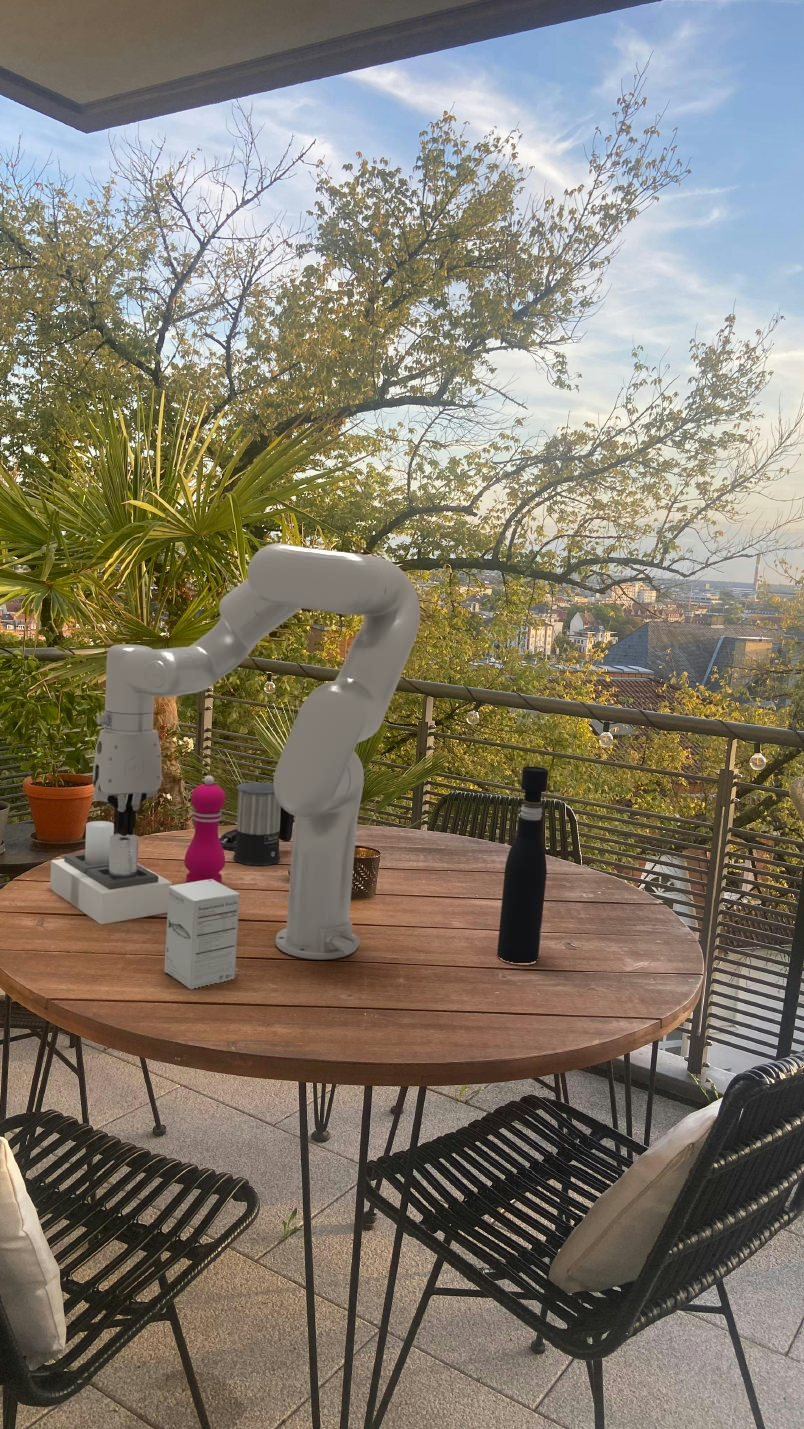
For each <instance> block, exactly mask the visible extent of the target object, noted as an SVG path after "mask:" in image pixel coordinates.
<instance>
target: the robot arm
mask: <svg viewBox="0 0 804 1429" xmlns="http://www.w3.org/2000/svg"><path fill="white" fill-rule="evenodd" d="M246 571H247V572H246V573H247V574H246V577H247V578H246V579H245V580H244V581H242V582H241V583H240V584H239V585H237V586H236V587H234V588H233V589H232V590H230V591H229V592H228V593H227V594H226V595H224V596H223V597H222V598H221V600H220V602H219V604H218V608H219V614H220V618H219V620H218V622H217V623H216V624H215V625H214V626H212V628H211V629H210V630H208V632H206V633H205V634H204V635H202V636H201V637H200V638H199V639H197V640H196V641H195V642H193V643H192V644H190V645H189V646H182V647H181V646H180V647H179V646H178V647H171V648H159V649H158V648H157V649H154V648H151V647H150V646H148V645H140V644H128V643H127V644H125V643H124V644H123V643H122V644H121V643H120V644H114V645H111V647H109V648H108V650H107V654H106V669H105V670H106V672H105V673H106V674H105V694H104V696H105V697H104V701H105V703H104V710H103V714H102V715H97V716H96V724H97V725H102V726H103V729H100V731H99V734H98V738H97V742H96V748H95V753H94V760H93V766H92V767H93V768H92V769H93V770H92V786H93V788H94V789H93V793H92V798H93V799H94V800H96V801H98V802H102V803H103V802H105V803H108V804H109V806H110V807H111V808H112V809H113V810H114V812H113V814H114V815H113V824H114V830H115V831H114V832H115V833H116V834H120V835H122V836H127V835H133V834H134V829H135V828H136V818H137V817H136V816H137V815H136V814H137V811H138V810H139V809H140V807H141V806H140V805H141V804H143V802H144V801H145V800H146V799H149V798H153V797H155V796H157V795H158V793H159V792H158V790H159V789H160V788H161V786H162V778H163V777H162V754H161V753H162V751H161V743H160V737H159V733H158V730H156V729H154V728H153V727H154V711H155V710H154V708H155V697H159V698H173V697H178V696H179V697H180V696H183V695H189V694H196V693H200V692H202V691H205V690H207V689H208V688H210V687H211V686H214V684H216V683H217V682H219V681H220V680H221V679H223V678H224V677H225V676H226V675H228V674H229V673H231V672H232V671H233V670H234V669H235V668H237V667H238V666H239V665H240V664H242V662H243V661H244V660H245V659H246V658H247V657H248V655H249V654H250V653H251V652H252V651H253V650H254V648H255V647H256V645H257V644H258V643H259V642H260V641H261V640H263V639H264V638H265V637H266V636H268V635H269V634H270V633H272V632H274V630H275V629H277V628H278V627H279V626H280V625H282V624H284V622H286V621H287V620H288V619H290V618H291V617H293V616H294V615H295V614H296V613H298V612H299V611H300V610H302V609H304V610H312V611H320V612H326V613H332V614H333V613H334V614H340V615H348V616H363V621H362V625H361V626H360V629H359V630H358V632H357V634H356V635H355V637H354V638H353V640H352V642H351V645H350V646H349V649H348V651H347V654H346V657H345V660H344V662H343V664H342V666H341V669H340V671H339V672H338V675H337V677H336V678H335V680H333V681H329V682H326V683H322V684H321V685H319V686H318V687H316V688H315V689H313V690H312V691H311V692H310V693H309V694H308V696H307V697H306V698H305V700H304V701H303V703H302V705H301V706H300V709H299V710H298V714H297V716H295V717H296V718H295V720H294V722H293V725H292V728H291V729H290V732H289V735H288V737H287V740H286V742H285V745H284V747H283V750H282V752H281V755H280V757H279V759H278V763H277V765H276V767H275V771H274V776H273V784H274V792H275V795H276V798H277V800H278V802H279V804H280V805H281V806H282V808H283V809H284V810H286V811H287V812H288V813H290V814H292V815H294V822H293V830H292V844H291V853H290V854H291V857H290V871H289V872H290V874H289V885H288V888H289V889H288V899H287V900H288V901H287V917H286V918H287V919H286V927H285V928H282V929H281V930H279V931H278V932H277V934H276V935H275V945H276V947H277V948H278V949H279V950H280V951H282V952H283V953H285V954H287V955H290V956H293V957H296V958H301V959H307V960H319V961H320V960H321V961H322V960H323V961H325V960H334V959H340V958H344V957H347V956H349V955H351V954H352V953H354V952H356V950H357V949H358V947H359V946H360V945H361V939H360V938H359V937H357V936H356V935H355V934H354V933H353V923H352V922H351V921H350V915H351V914H350V913H351V901H352V900H351V899H352V888H353V887H352V886H353V872H354V860H355V850H356V837H357V836H356V835H357V826H358V825H357V824H358V818H359V812H360V805H361V800H362V797H363V796H362V795H363V792H364V791H363V788H364V783H365V782H364V781H365V774H364V772H365V771H364V767H363V764H362V761H361V759H360V757H359V756H358V754H357V753H356V752H355V749H356V747H357V745H358V743H361V742H364V741H366V740H368V739H370V738H371V737H373V736H374V735H375V734H376V733H377V732H378V731H379V729H380V727H381V726H382V724H383V722H384V719H385V716H386V714H387V711H388V708H389V706H390V704H391V701H392V699H393V696H394V694H395V692H396V690H397V687H398V685H399V682H400V679H401V676H402V675H403V674H402V673H403V671H404V669H405V667H406V663H407V661H408V659H409V657H410V654H411V652H412V649H413V647H414V645H415V642H416V639H417V636H418V633H419V628H420V622H421V606H420V600H419V597H418V594H417V591H416V588H415V586H414V585H413V583H412V582H411V579H410V578H409V577H408V576H407V574H406V573H405V572H404V571H403V570H402V568H401V567H399V566H398V565H396V564H395V563H394V562H392V561H390V560H388V559H386V558H383V557H379V556H374V555H366V554H361V553H352V552H347V551H346V552H345V551H337V550H336V551H335V550H327V549H326V550H325V549H317V548H309V547H303V546H299V545H293V544H287V543H282V542H281V543H279V542H277V543H270V544H268V545H265V546H264V547H261V548H260V549H258V551H257V552H256V553H255V554H254V555H253V556H252V558H251V559H250V561H249V563H248V567H247V570H246ZM125 796H126V797H125Z"/></svg>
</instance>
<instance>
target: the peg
mask: <svg viewBox="0 0 804 1429" xmlns="http://www.w3.org/2000/svg"><path fill="white" fill-rule="evenodd" d="M138 857H139V836H138V835H137V834H134V833H133V835H127V836H122V835H120V834H119V833H114V835H112V836H110V849H109V875H108V877H109V878H110V879H112V880H119V879H126V878H132V877H137V864H139V862H138V859H139V858H138Z"/></svg>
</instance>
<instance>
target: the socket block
mask: <svg viewBox="0 0 804 1429" xmlns="http://www.w3.org/2000/svg"><path fill="white" fill-rule="evenodd" d="M114 830H115V829H114V822H112V821H107V820H96V821H95V820H93V821H89V822H87V823H86V824H85V846H84V848H85V849H84V850H85V851H84V852H82V853H81V852H80V853H74V854H73V853H72V854H66V855H65V854H64V858H60V859H52V860H51V861H50V880H49V881H50V883H49V889H50V890H51V891H53V892H54V893H56V894H57V895H58V896H60V897H61V898H63V899H64V900H65V901H66V902H68V903H69V904H71V905H72V906H74V907H75V908H76V909H78V910H79V911H81V912H82V913H84V914H85V915H87V916H88V917H89V918H91V919H93V921H95V922H97V923H98V924H99V925H106V924H112V923H117V922H123V921H129V920H134V919H140V918H145V917H150V916H155V915H161V914H167V913H168V893H169V886H173V882H172V881H171V880H168V879H167V878H164V877H163V876H161V875H159V874H157V873H156V872H155V871H152V870H150V869H148V868H147V867H145V866H143V865H142V864H140V863H138V864H137V877H132V878H126V879H119V880H112V879H110V878H109V877H108V875H109V849H110V836H112V835H115V833H114V832H115V831H114Z"/></svg>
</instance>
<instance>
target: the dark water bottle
mask: <svg viewBox="0 0 804 1429" xmlns="http://www.w3.org/2000/svg"><path fill="white" fill-rule="evenodd" d="M521 772H522V775H521V782H520V783H521V785H520V789H521V790H522V791H524V799H523V802H524V804H522V805H521V807H520V810H521V811H520V815H519V817H518V818H517V820H518V821H517V828H516V836H515V838H514V840H513V842H512V844H511V847H510V849H509V851H508V854H507V857H506V858H507V859H506V861H505V865H504V866H505V867H504V876H503V877H504V878H503V887H502V897H501V908H500V917H499V918H500V920H499V929H498V940H497V950H496V951H497V952H496V956H497V955H498V957H500V958H502V959H503V960H505V961H509V962H513V963H531V962H534V961H537V959H538V960H539V954H540V944H541V934H542V924H543V922H542V921H543V914H544V913H543V912H544V905H545V904H544V903H545V894H546V893H545V892H546V883H547V872H548V869H547V858H546V857H547V856H546V852H545V847H544V842H543V839H542V833H543V827H544V826H543V825H544V824H543V823H544V820H543V818H542V817H543V814H542V812H544V811H543V809H542V808H543V807H542V806H541V804H542V801H541V800H542V793H546V792H547V788H548V786H547V785H548V779H549V777H548V776H549V769H547V768H545V767H541V766H532V765H531V766H524V767H522V771H521ZM498 957H497V958H498ZM537 962H538V961H537Z"/></svg>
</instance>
